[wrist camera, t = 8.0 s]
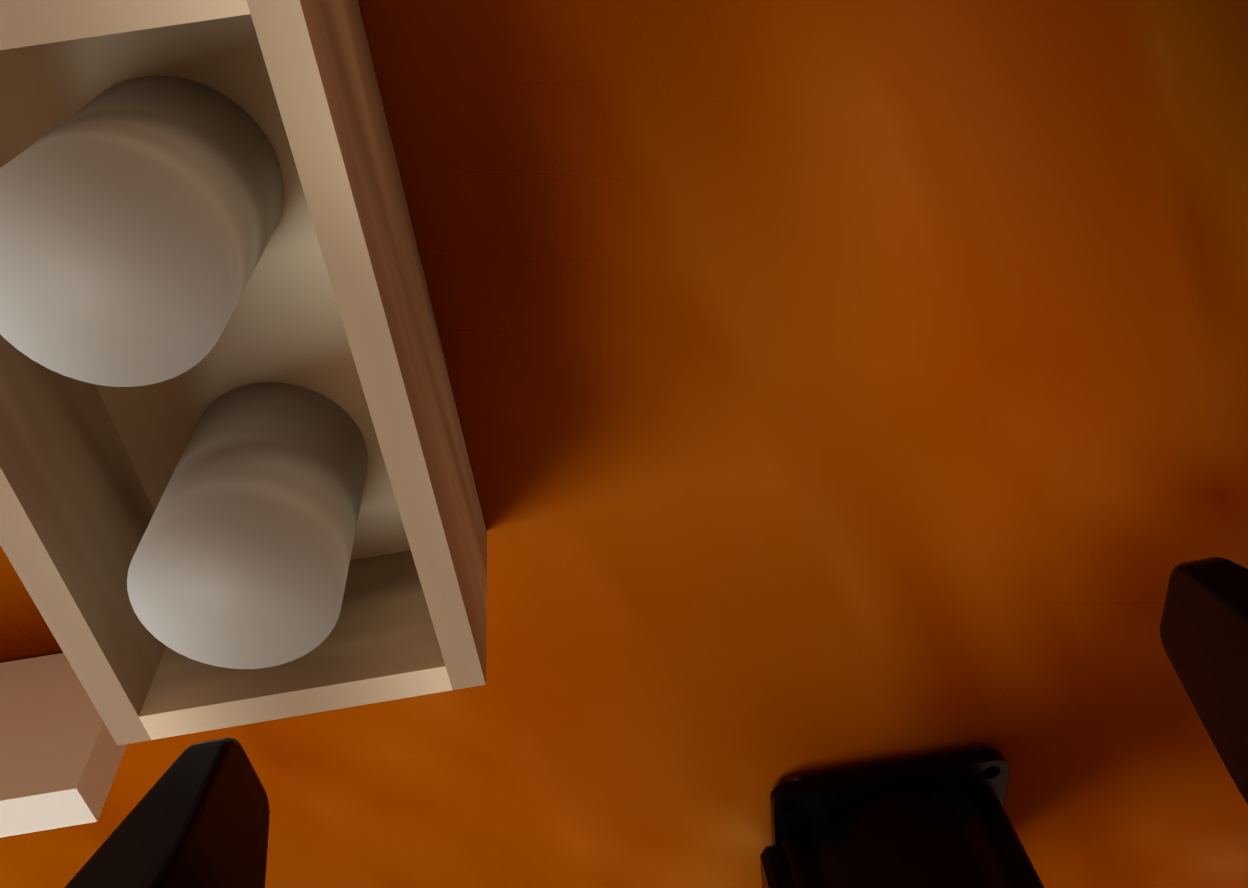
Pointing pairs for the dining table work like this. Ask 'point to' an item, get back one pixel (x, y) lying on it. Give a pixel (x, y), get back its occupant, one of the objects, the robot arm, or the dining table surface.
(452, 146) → the dining table surface
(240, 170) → the crate with rolls
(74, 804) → the beige u-shaped block
